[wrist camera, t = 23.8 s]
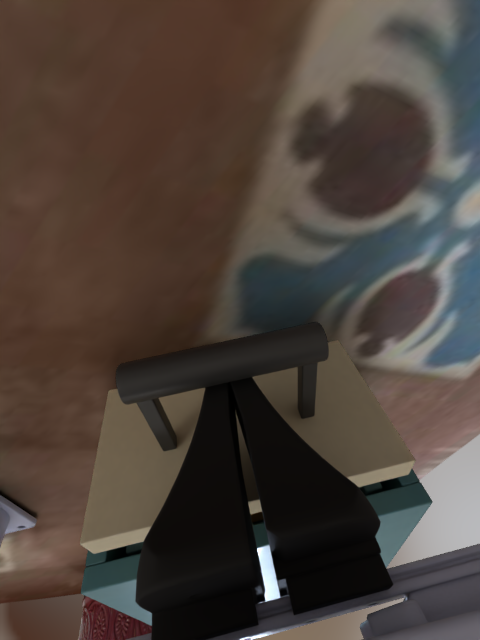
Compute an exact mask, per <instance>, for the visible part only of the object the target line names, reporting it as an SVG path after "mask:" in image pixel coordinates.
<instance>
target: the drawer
mask: <svg viewBox="0 0 480 640" xmlns="http://www.w3.org/2000/svg"><path fill="white" fill-rule="evenodd" d="M250 377H252V378H253V379H254V381H255V382H256V384H257V385H258V387H259V388H260V390H261V391H262V393H263V394H264V395H265V397H266V398H267V399H268V401H269V402H270V403H271V405H272V406H273V407H274V408H275V410H276V411H277V412H278V413H279V414H280V416H281V417H282V418H283V419H284V420H285V421H286V422H287V423H288V424H289V426H290V427H291V428H292V429H293V430H294V431H295V432H296V433H297V434H298V435H299V436H300V437H301V438H302V439H303V440H304V441H305V442H306V443H307V444H308V445H309V446H310V447H312V448H313V449H314V450H315V451H316V452H317V453H318V454H319V455H320V456H321V457H322V458H324V459H325V460H326V461H327V462H328V463H329V464H331V465H332V466H333V467H334V468H335V469H337V470H338V471H339V472H340V473H342V474H343V475H344V476H345V477H347V478H348V479H349V480H351V481H352V482H353V483H355V484H356V485H357V486H358V487H359V488H360V490H361V491H362V492H363V494H364V495H365V496H368V495H372V494H375V493H379V492H381V491H382V485H381V483H380V482H381V481H385V480H389V479H393V478H397V477H401V476H405V475H408V474H409V473H410V471H411V469H412V467H413V465H414V463H415V458H414V457H413V455H412V454H411V452H410V451H409V449H408V448H407V446H406V444H405V443H404V441H403V440H402V438H401V437H400V435H399V434H398V432H397V430H396V429H395V427H394V426H393V424H392V423H391V421H390V420H389V418H388V416H387V415H386V413H385V412H384V410H383V409H382V407H381V406H380V404H379V402H378V401H377V399H376V398H375V396H374V395H373V393H372V392H371V390H370V388H369V387H368V385H367V384H366V382H365V381H364V379H363V378H362V376H361V375H360V373H359V371H358V370H357V368H356V367H355V365H354V364H353V362H352V361H351V359H350V357H349V356H348V354H347V353H346V351H345V350H344V348H343V347H342V345H341V343H340V342H339V340H336V341H332V342H328V341H327V337H326V334H325V332H324V330H323V328H322V326H321V325H320V324H319V323H318V322H313V323H308V324H304V325H299V326H294V327H289V328H285V329H280V330H275V331H271V332H266V333H261V334H257V335H252V336H247V337H243V338H238V339H233V340H229V341H224V342H219V343H215V344H210V345H205V346H201V347H196V348H191V349H187V350H182V351H177V352H173V353H168V354H163V355H159V356H154V357H149V358H145V359H140V360H135V361H131V362H126V363H121V364H120V365H118V367H117V370H116V386H117V389H113V390H109V392H108V397H107V402H106V407H105V413H104V418H103V423H102V429H101V434H100V439H99V444H98V450H97V455H96V460H95V466H94V471H93V476H92V481H91V487H90V492H89V497H88V502H87V508H86V513H85V518H84V524H83V529H82V534H81V539H80V545H81V546H83V547H84V548H86V549H87V550H89V551H90V552H92V553H93V554H96V553H100V552H104V551H108V550H112V549H116V548H120V547H123V546H127V547H126V553H127V554H128V555H129V556H132V555H136V554H140V553H141V550H142V546H143V543H144V539H145V537H146V536H147V534H148V532H149V530H150V528H151V527H152V525H153V523H154V521H155V519H156V518H157V516H158V514H159V512H160V510H161V509H162V507H163V505H164V503H165V501H166V499H167V497H168V495H169V492H170V490H171V488H172V486H173V484H174V482H175V480H176V478H177V476H178V473H179V471H180V469H181V466H182V464H183V461H184V459H185V456H186V454H187V451H188V449H189V446H190V443H191V440H192V437H193V434H194V431H195V428H196V425H197V421H198V417H199V414H200V410H201V406H202V402H203V397H204V392H205V387H210V386H214V385H219V384H223V383H228V382H232V381H237V380H241V379H246V378H250ZM235 411H236V410H235ZM236 419H237V428H238V438H239V447H240V457H241V465H242V472H243V478H244V483H245V488H246V493H247V499H248V504H249V509H250V514H254V513H258V512H262V509H261V504H260V500H259V495H258V490H257V486H256V481H255V476H254V472H253V468H252V464H251V460H250V457H249V453H248V450H247V447H246V443H245V440H244V437H243V434H242V430H241V427H240V424H239V420H238V417H237V414H236ZM262 522H264V520H262V521H258V522H254V523H252V524H253V525H254V524H258V523H262Z"/></svg>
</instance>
